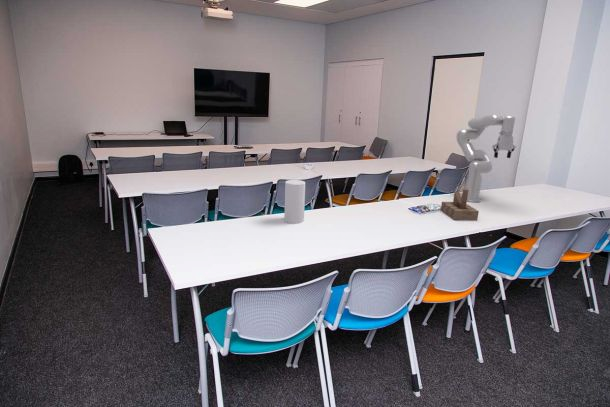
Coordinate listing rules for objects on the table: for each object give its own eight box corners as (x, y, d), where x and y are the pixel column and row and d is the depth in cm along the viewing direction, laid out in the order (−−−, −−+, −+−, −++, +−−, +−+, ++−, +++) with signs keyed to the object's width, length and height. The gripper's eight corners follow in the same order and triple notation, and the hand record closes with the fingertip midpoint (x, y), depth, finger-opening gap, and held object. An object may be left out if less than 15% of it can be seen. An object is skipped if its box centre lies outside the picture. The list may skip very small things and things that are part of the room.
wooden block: (455, 210, 284) (459, 185, 279) (466, 215, 274) (470, 189, 269) (451, 210, 283) (455, 186, 278) (461, 215, 273) (465, 190, 268)
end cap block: (440, 210, 288) (441, 201, 287) (461, 210, 290) (463, 201, 288) (454, 220, 267) (456, 210, 266) (477, 220, 269) (478, 211, 267)
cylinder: (300, 216, 262) (301, 179, 255) (306, 222, 251) (308, 184, 244) (281, 217, 258) (282, 180, 251) (287, 224, 247) (288, 184, 240)
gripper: (497, 134, 278) (493, 158, 283) (521, 134, 280) (516, 158, 284) (491, 132, 285) (487, 156, 290) (514, 133, 287) (510, 157, 292)
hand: (502, 157), depth 287 cm, fingers open, 9 cm apart
